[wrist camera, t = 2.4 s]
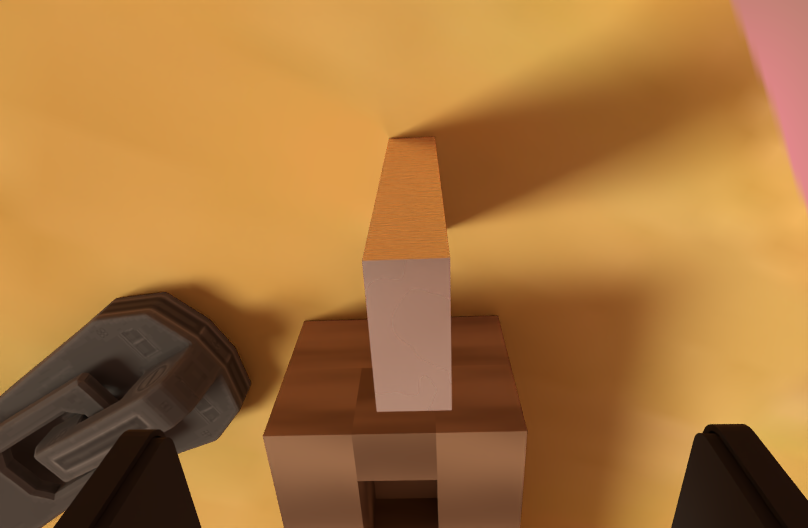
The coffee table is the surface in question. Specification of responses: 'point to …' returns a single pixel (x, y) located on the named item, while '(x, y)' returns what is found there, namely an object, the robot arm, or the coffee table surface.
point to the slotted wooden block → (396, 437)
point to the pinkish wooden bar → (409, 282)
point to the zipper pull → (113, 400)
